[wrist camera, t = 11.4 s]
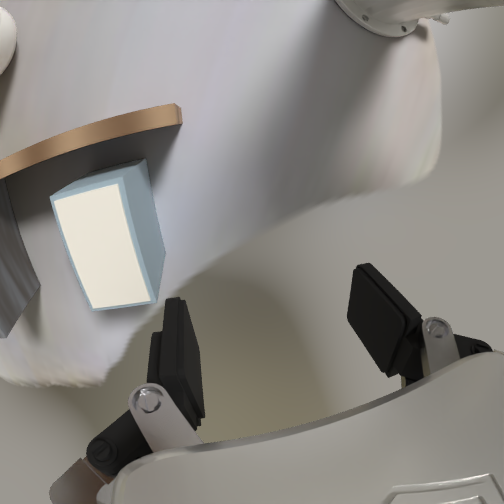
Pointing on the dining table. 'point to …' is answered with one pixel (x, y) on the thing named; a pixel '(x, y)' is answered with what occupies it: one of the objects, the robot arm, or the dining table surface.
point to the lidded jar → (6, 38)
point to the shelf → (3, 220)
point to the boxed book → (112, 235)
